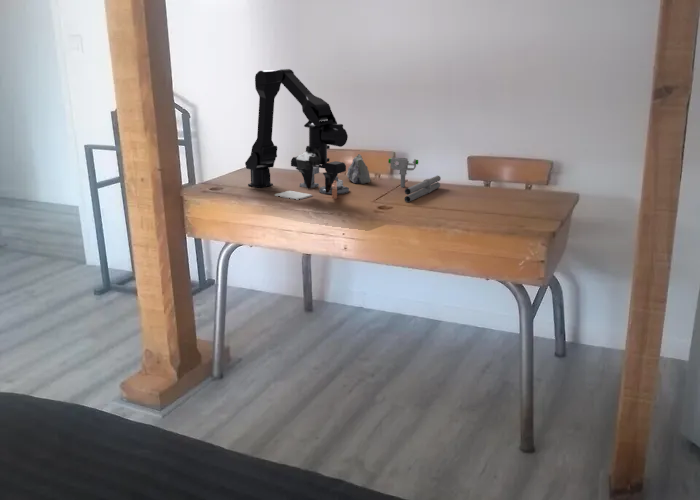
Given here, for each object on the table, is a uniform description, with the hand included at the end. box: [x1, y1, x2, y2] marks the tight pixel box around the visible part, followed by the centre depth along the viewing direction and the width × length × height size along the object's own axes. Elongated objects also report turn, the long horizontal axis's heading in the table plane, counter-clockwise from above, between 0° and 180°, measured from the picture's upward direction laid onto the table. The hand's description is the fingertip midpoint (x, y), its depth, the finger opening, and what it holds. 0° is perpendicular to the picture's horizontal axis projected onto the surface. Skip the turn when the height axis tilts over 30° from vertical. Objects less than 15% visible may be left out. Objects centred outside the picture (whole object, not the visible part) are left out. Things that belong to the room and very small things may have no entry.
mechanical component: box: [388, 157, 419, 188], centre depth 245 cm, size 3×10×10 cm, turn 78°
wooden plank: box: [330, 175, 344, 200], centre depth 230 cm, size 20×6×8 cm, turn 2°
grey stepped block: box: [298, 167, 320, 189], centre depth 245 cm, size 7×4×7 cm, turn 53°
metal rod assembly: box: [404, 175, 441, 203], centre depth 234 cm, size 26×3×5 cm, turn 151°
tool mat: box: [274, 190, 313, 201], centre depth 231 cm, size 10×7×1 cm
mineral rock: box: [346, 153, 371, 185], centre depth 255 cm, size 13×11×10 cm
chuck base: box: [318, 185, 350, 196], centre depth 238 cm, size 10×10×1 cm
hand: (317, 190), depth 227 cm, fingers open, 7 cm apart
